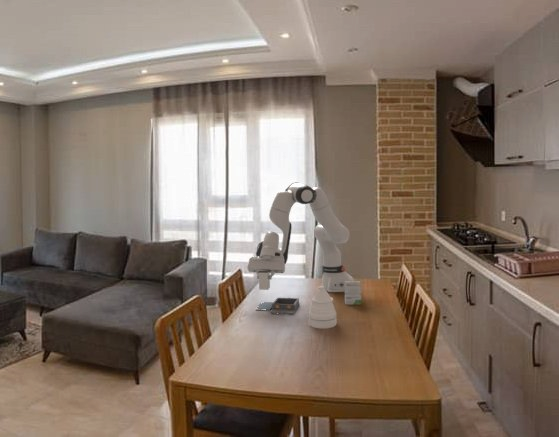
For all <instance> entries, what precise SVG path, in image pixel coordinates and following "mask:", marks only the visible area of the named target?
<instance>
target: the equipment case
mask: <svg viewBox="0 0 559 437" xmlns="http://www.w3.org/2000/svg"><path fill="white" fill-rule="evenodd" d="M299 306H300V298H294V297H276V299H275V300H274V301H273V304H272V309H271V310H270V311H269V314H270V313H278V314H277V315H285V314H289V315H291V316H293V315H294V314H295V313H296V311H297V309H298V307H299ZM289 315H288V316H289Z"/></svg>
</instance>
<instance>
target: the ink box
mask: <svg viewBox="0 0 559 437" xmlns="http://www.w3.org/2000/svg"><path fill="white" fill-rule="evenodd" d="M344 303H345V304H344V305H347V306H348V305H349V306H352V305H357V306H358V305H362V282H361V280H354V281H345V292H344Z"/></svg>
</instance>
